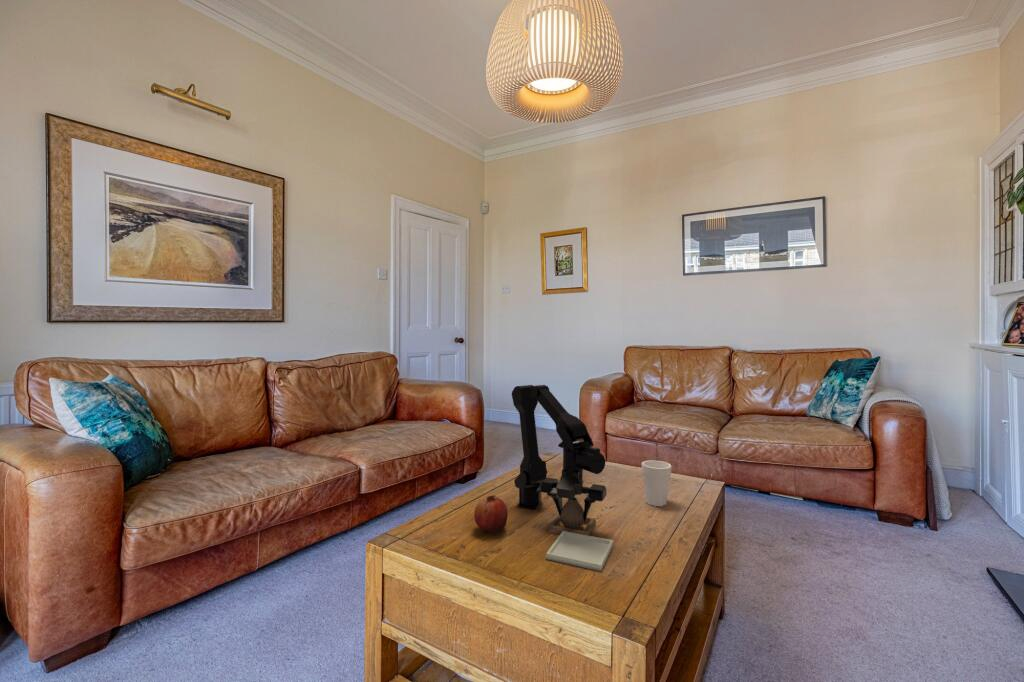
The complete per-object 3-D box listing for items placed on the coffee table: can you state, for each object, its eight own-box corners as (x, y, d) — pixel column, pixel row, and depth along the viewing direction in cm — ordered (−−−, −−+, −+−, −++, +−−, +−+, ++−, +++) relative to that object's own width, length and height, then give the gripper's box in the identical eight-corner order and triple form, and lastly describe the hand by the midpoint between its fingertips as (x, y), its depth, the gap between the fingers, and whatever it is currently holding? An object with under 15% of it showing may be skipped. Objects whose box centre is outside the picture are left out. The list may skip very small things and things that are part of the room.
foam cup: (639, 505, 148) (640, 466, 148) (642, 496, 157) (643, 459, 157) (670, 510, 145) (670, 470, 144) (671, 500, 153) (672, 462, 153)
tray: (546, 559, 114) (546, 553, 114) (563, 536, 127) (563, 530, 126) (601, 571, 108) (601, 565, 108) (613, 545, 121) (613, 540, 121)
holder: (548, 532, 129) (548, 526, 129) (560, 517, 139) (560, 511, 139) (586, 539, 124) (586, 533, 124) (595, 524, 134) (595, 518, 134)
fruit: (501, 541, 124) (501, 505, 123) (468, 535, 127) (468, 500, 126) (513, 525, 134) (513, 491, 133) (482, 520, 137) (482, 488, 137)
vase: (584, 534, 128) (584, 503, 127) (559, 532, 129) (559, 501, 129) (585, 524, 134) (585, 495, 134) (561, 522, 136) (562, 493, 135)
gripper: (532, 468, 128) (532, 523, 128) (598, 477, 120) (597, 535, 120) (546, 458, 138) (546, 508, 138) (607, 465, 130) (606, 519, 131)
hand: (572, 517), depth 132 cm, fingers closed on vase, 7 cm apart
